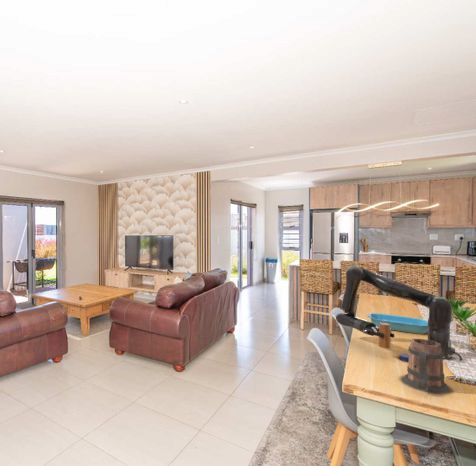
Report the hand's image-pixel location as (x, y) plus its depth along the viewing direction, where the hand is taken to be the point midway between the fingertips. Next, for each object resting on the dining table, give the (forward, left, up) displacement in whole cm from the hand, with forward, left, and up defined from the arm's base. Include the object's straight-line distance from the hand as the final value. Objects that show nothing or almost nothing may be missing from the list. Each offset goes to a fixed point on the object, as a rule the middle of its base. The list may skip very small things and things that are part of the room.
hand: (388, 336), depth 183 cm
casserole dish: (+18, -71, -13) cm, 74 cm away
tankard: (-22, +24, -13) cm, 35 cm away
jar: (+2, -1, -7) cm, 7 cm away
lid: (-6, -7, -11) cm, 14 cm away
